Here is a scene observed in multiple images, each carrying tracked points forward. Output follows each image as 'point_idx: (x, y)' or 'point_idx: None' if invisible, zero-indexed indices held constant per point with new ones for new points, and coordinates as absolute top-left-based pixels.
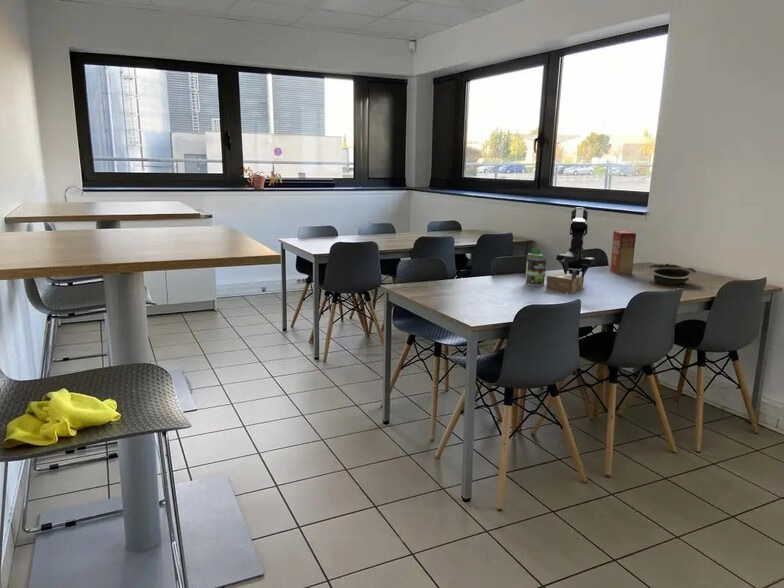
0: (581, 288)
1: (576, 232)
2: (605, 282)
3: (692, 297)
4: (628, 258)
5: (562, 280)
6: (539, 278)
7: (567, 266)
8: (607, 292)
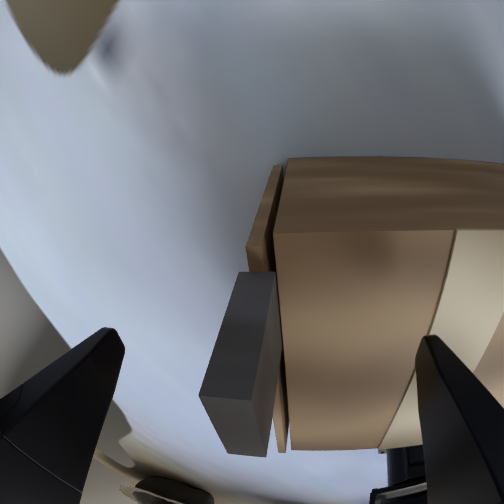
0: None
1: None
2: (292, 470)
3: None
4: None
5: (420, 212)
6: None
7: (432, 497)
8: (163, 375)
